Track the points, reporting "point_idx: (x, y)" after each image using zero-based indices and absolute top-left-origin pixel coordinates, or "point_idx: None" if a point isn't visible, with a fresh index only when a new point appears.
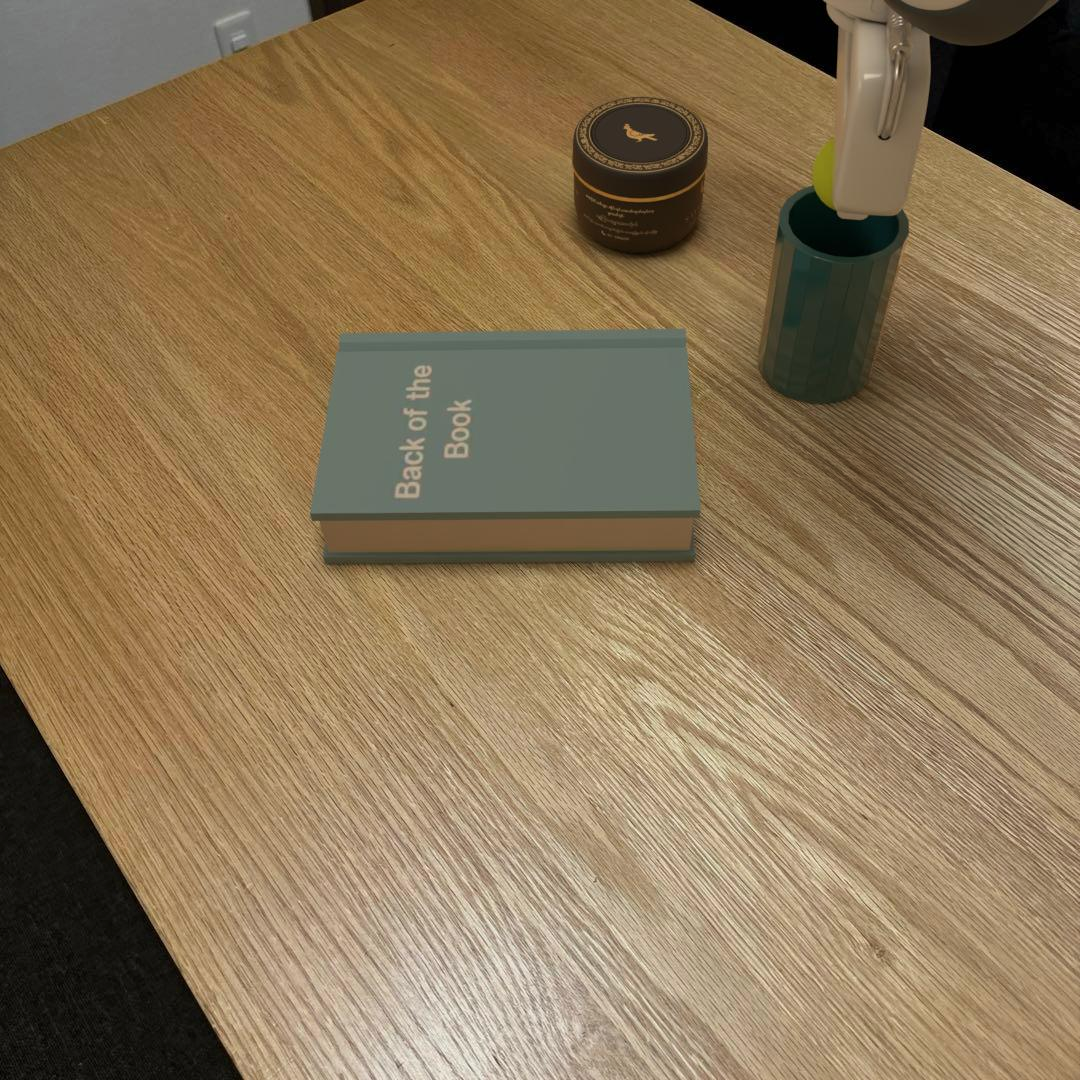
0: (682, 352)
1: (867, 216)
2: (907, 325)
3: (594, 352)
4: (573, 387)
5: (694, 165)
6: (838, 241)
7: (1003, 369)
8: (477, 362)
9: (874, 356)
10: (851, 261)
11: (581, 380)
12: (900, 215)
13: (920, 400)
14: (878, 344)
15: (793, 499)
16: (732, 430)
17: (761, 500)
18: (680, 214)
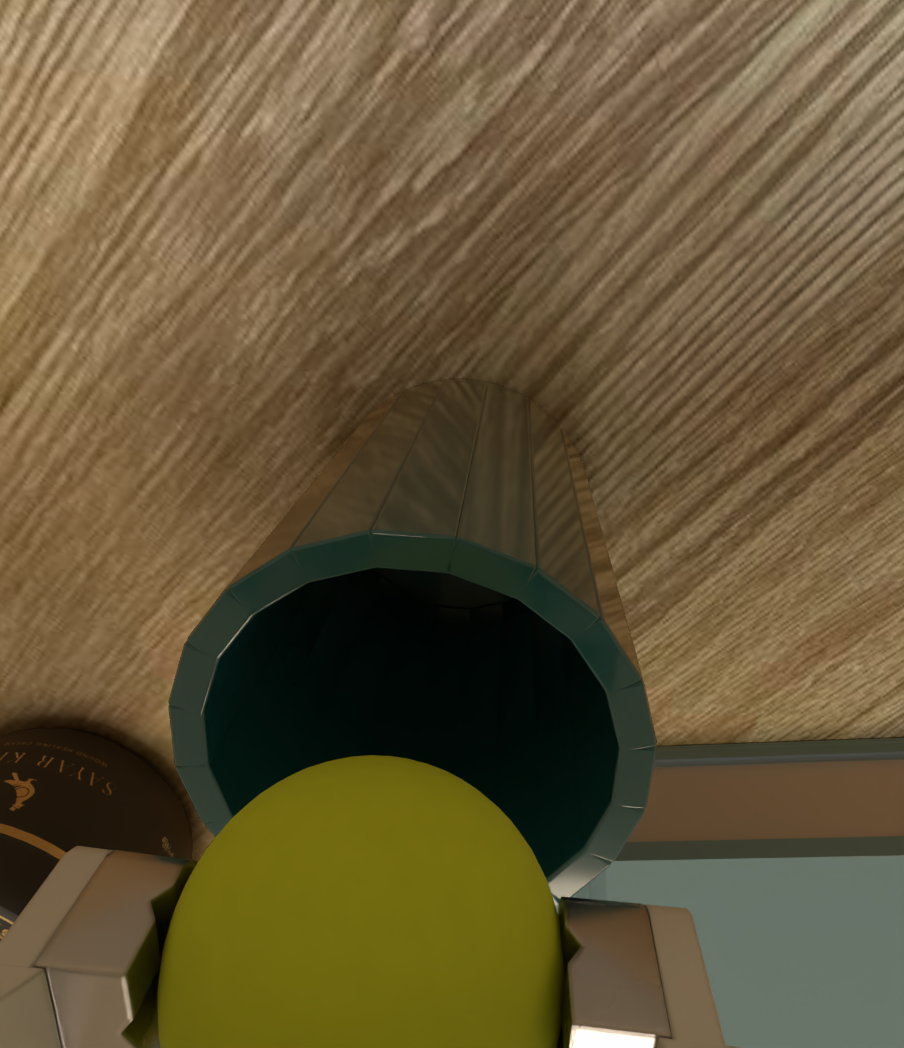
0: (620, 868)
1: (689, 912)
2: (306, 280)
3: None
4: (725, 1039)
5: (16, 892)
6: (279, 605)
7: (440, 19)
8: None
9: (517, 410)
10: (645, 752)
11: None
12: (344, 560)
13: (568, 265)
14: (505, 412)
15: (865, 560)
16: (666, 665)
17: (861, 618)
18: (115, 819)
